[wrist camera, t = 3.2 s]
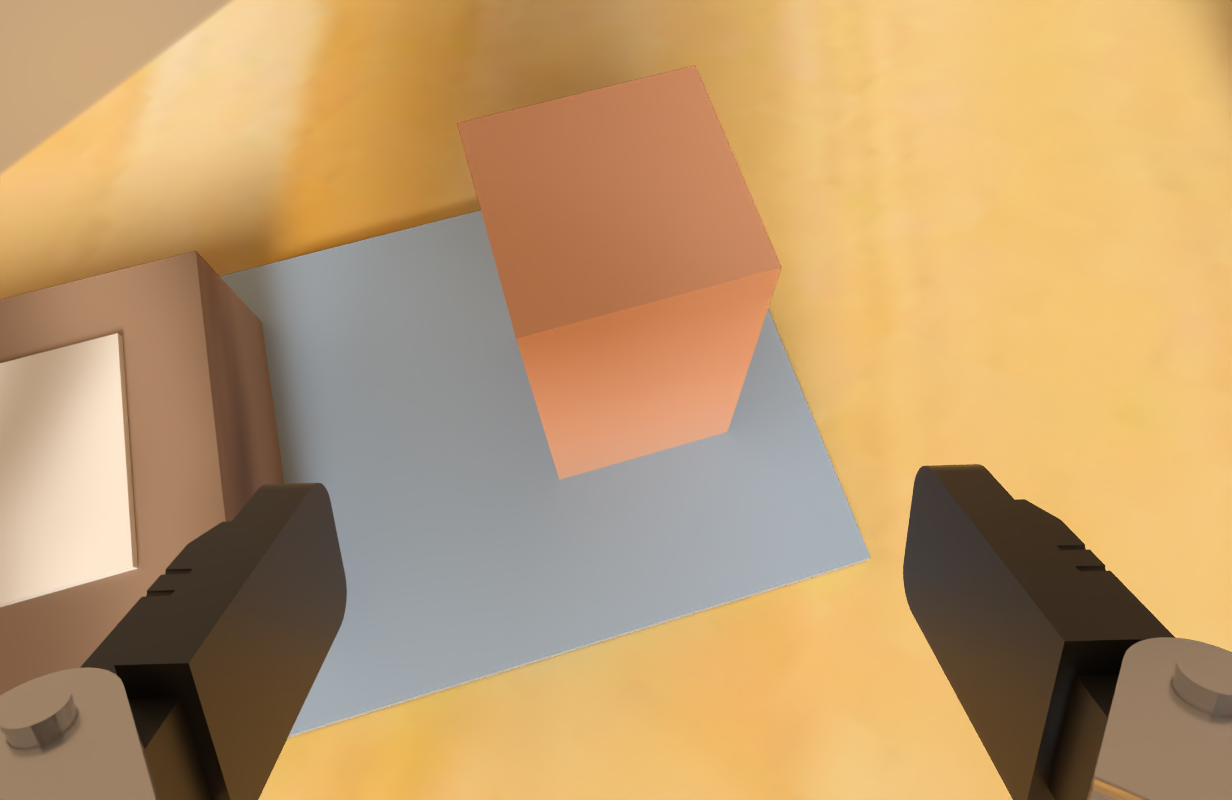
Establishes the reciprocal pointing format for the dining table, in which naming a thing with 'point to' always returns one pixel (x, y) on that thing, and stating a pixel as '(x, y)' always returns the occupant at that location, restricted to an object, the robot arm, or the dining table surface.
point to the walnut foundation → (119, 446)
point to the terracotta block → (624, 263)
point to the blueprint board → (508, 478)
